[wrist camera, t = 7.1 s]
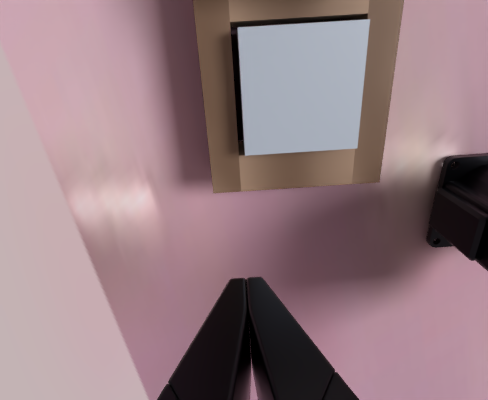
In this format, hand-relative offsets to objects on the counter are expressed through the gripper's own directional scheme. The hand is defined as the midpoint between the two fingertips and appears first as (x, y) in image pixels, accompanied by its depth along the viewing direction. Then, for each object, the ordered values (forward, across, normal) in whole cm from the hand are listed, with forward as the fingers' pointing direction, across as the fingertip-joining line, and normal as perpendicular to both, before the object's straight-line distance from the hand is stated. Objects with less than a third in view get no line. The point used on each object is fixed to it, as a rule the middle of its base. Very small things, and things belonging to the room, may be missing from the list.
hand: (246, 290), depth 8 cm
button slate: (+11, -3, -4) cm, 12 cm away
